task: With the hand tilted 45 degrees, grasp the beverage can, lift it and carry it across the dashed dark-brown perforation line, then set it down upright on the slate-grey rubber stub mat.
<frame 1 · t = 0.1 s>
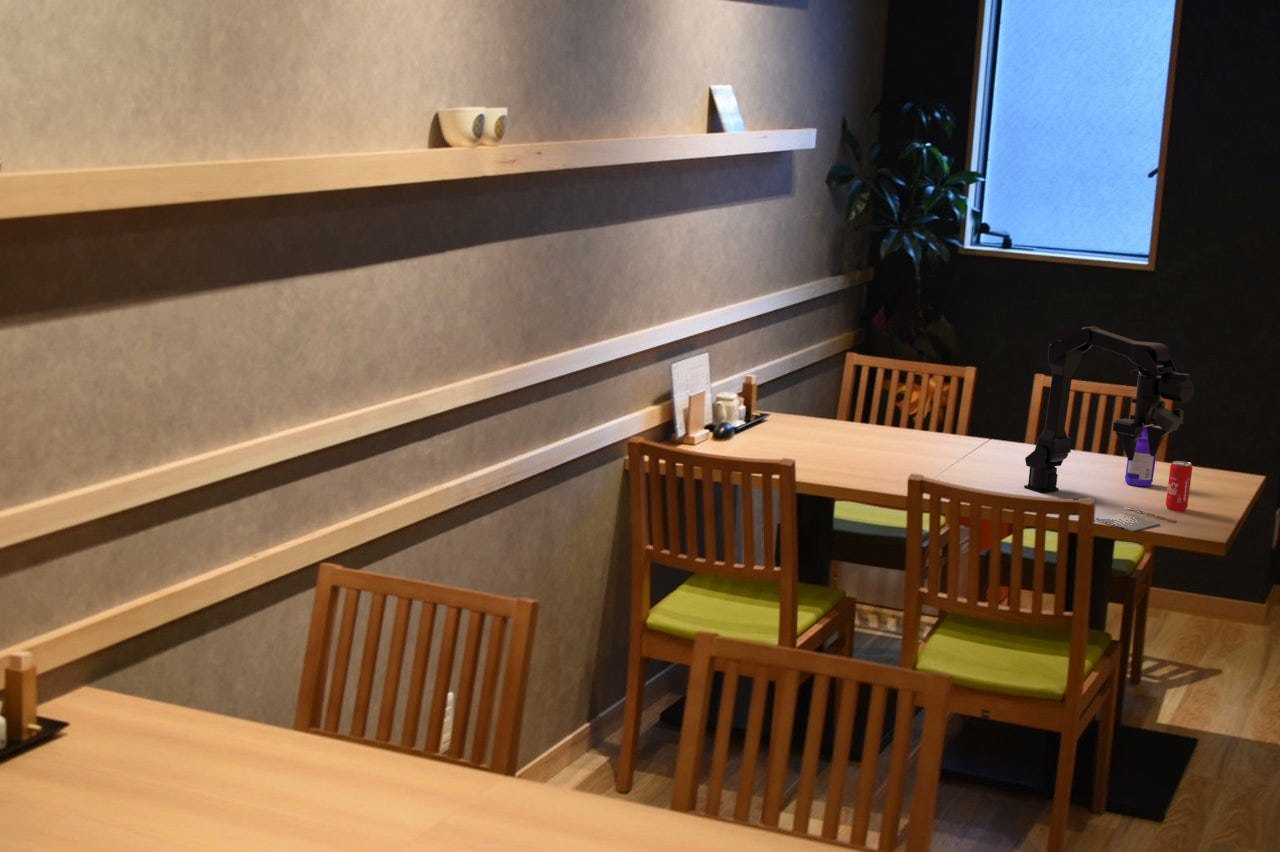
hand: (1141, 458, 372), 15 cm above the table, tool pointing down, fingers open, 9 cm apart
stub mat: (1126, 522, 369), on the table
beverage can: (1175, 510, 383), on the table
perforation line: (1150, 515, 376), on the table
bottle: (1138, 485, 406), on the table
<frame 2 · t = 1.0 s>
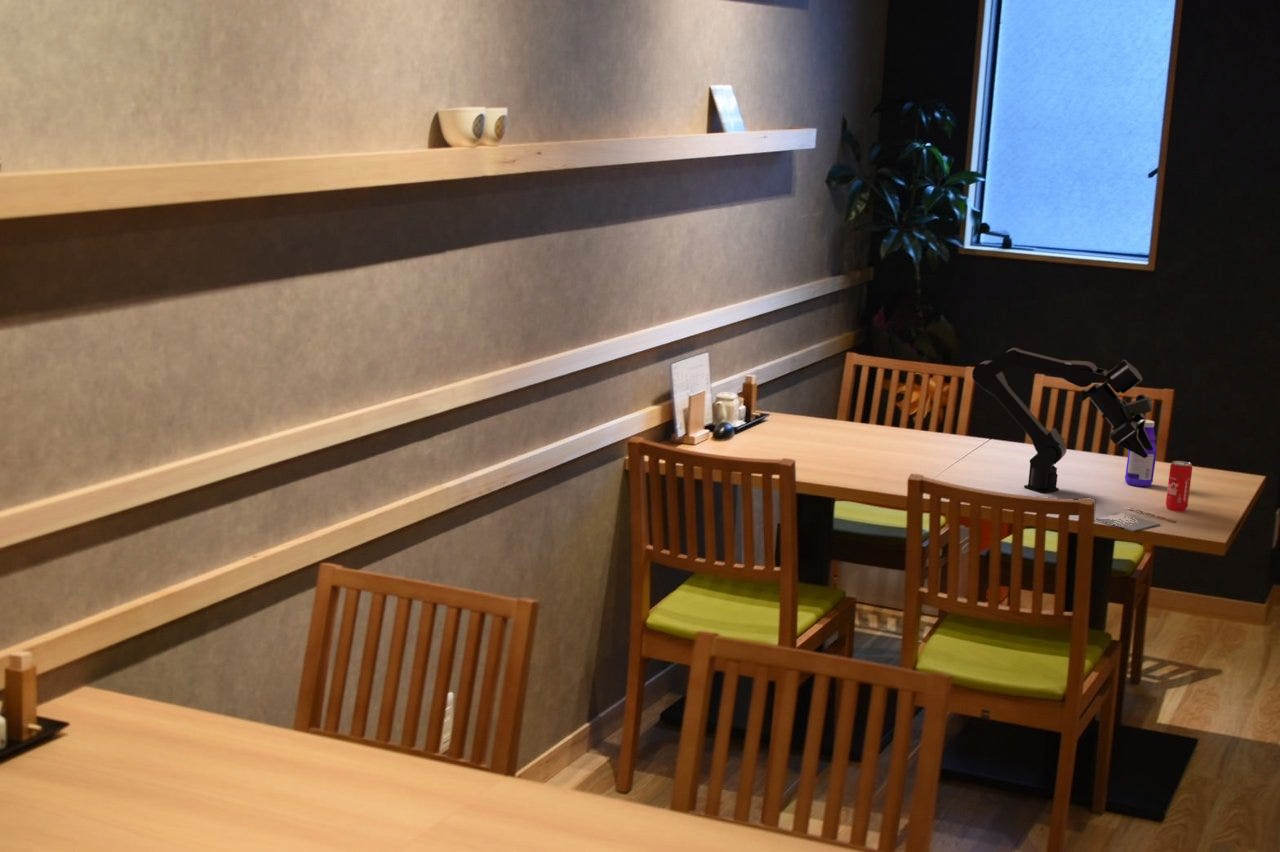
hand: (1149, 453, 383), 13 cm above the table, tool tilted 45°, fingers open, 9 cm apart
nothing on the table moved.
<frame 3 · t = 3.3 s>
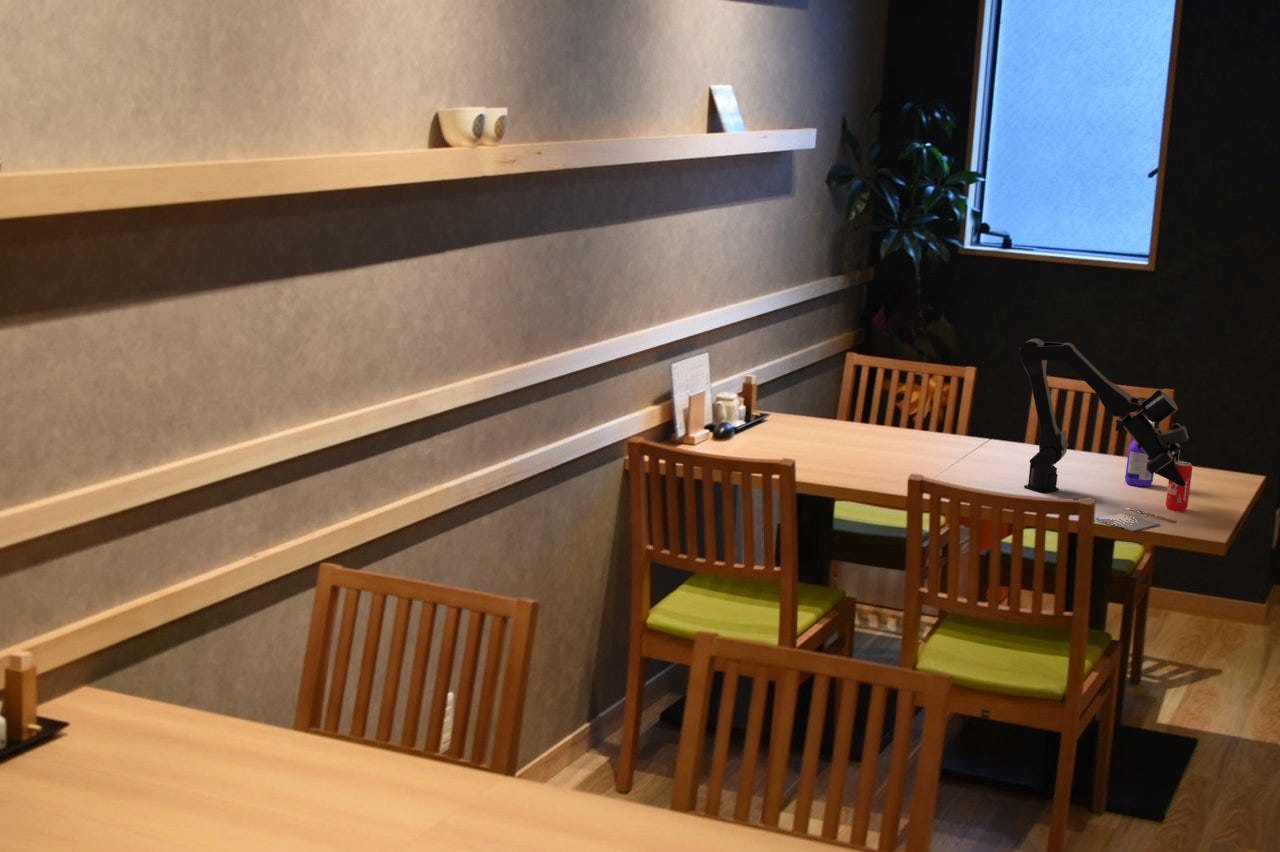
hand: (1185, 483, 381), 7 cm above the table, tool tilted 45°, fingers closed on beverage can, 5 cm apart
beverage can: (1175, 510, 383), on the table, touching gripper
everything else where it was.
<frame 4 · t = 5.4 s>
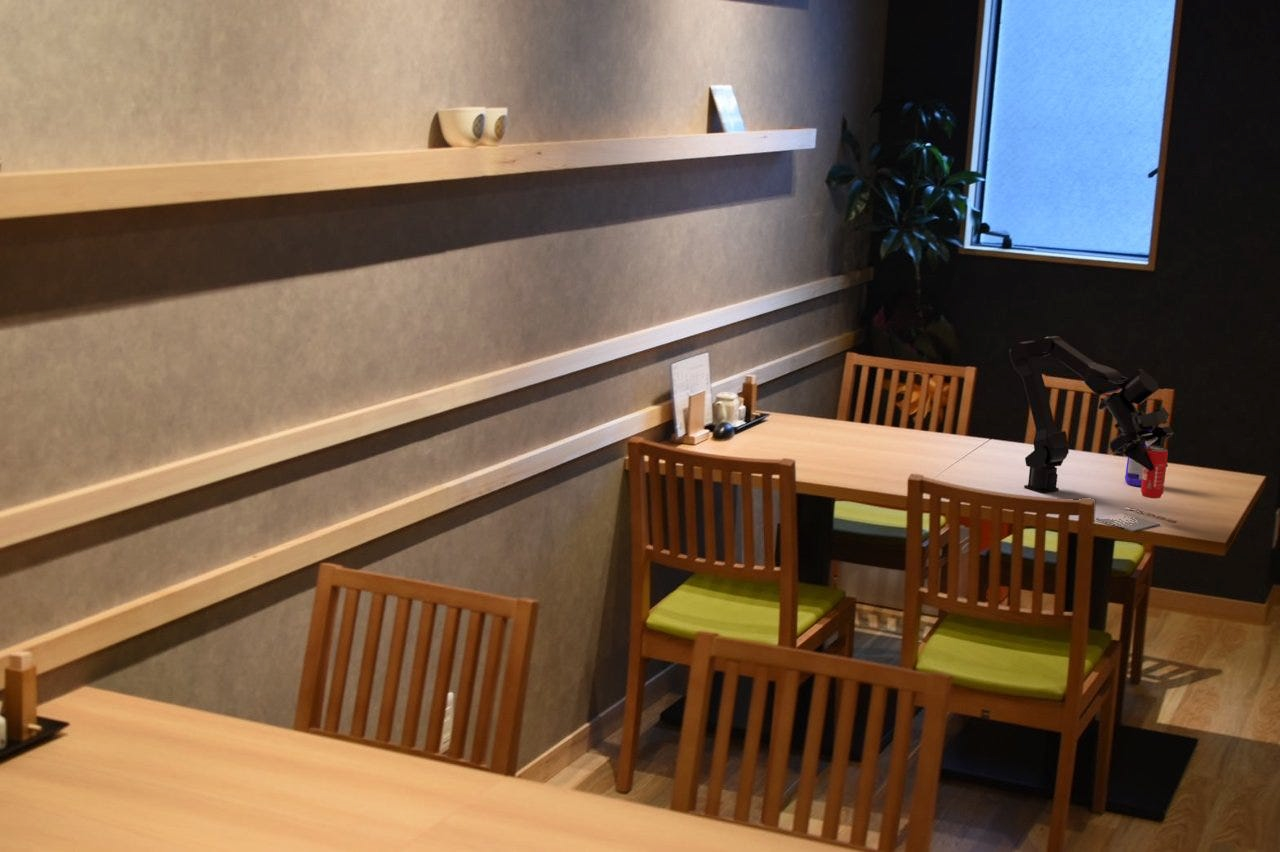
hand: (1159, 468, 368), 13 cm above the table, tool tilted 45°, fingers closed on beverage can, 5 cm apart
beverage can: (1151, 496, 371), point 6 cm above the table, touching gripper
everything else where it was.
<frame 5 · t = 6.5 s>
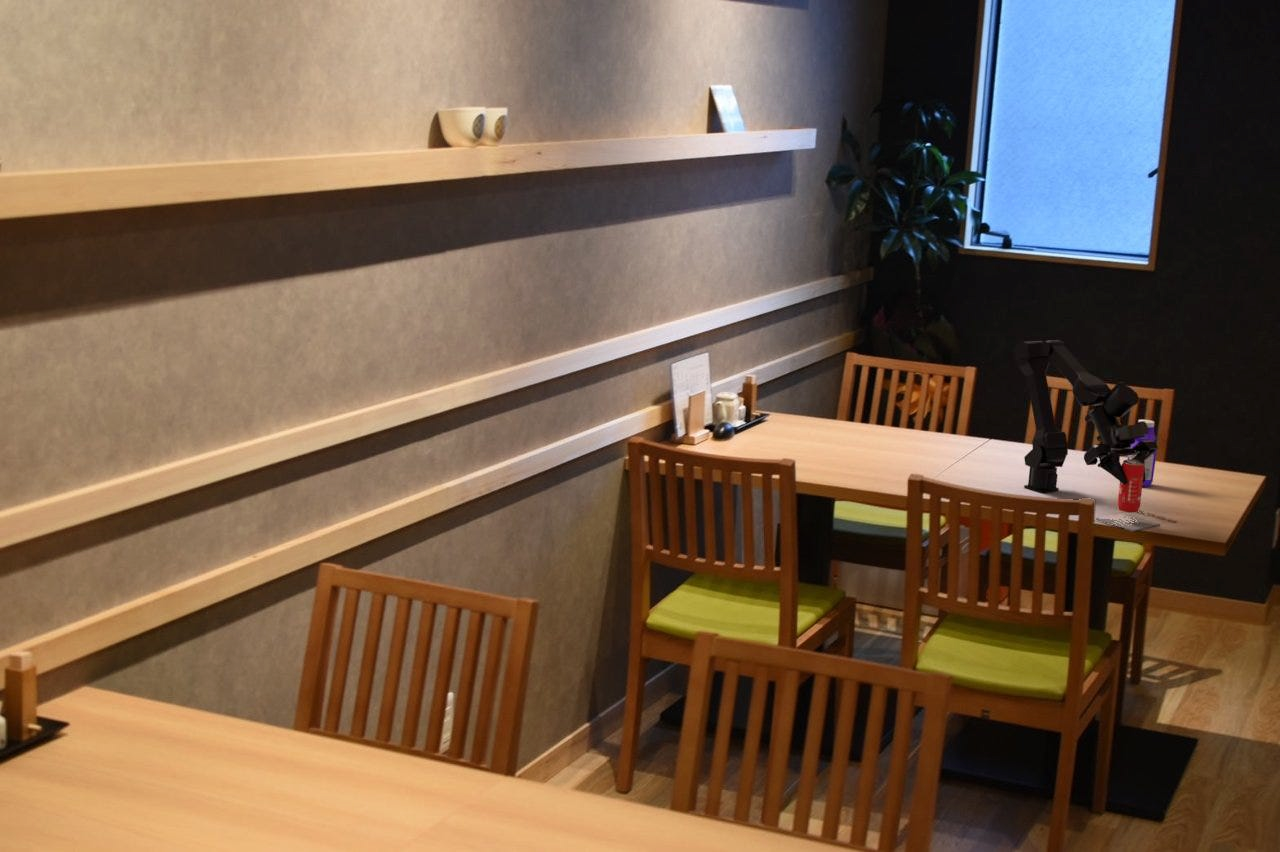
hand: (1135, 482, 366), 10 cm above the table, tool tilted 45°, fingers closed on beverage can, 5 cm apart
beverage can: (1128, 510, 369), point 3 cm above the table, touching gripper
everything else where it was.
when the fingers open (8 cm above the table, at t = 7.3 s): beverage can stays where it is, resting on stub mat.
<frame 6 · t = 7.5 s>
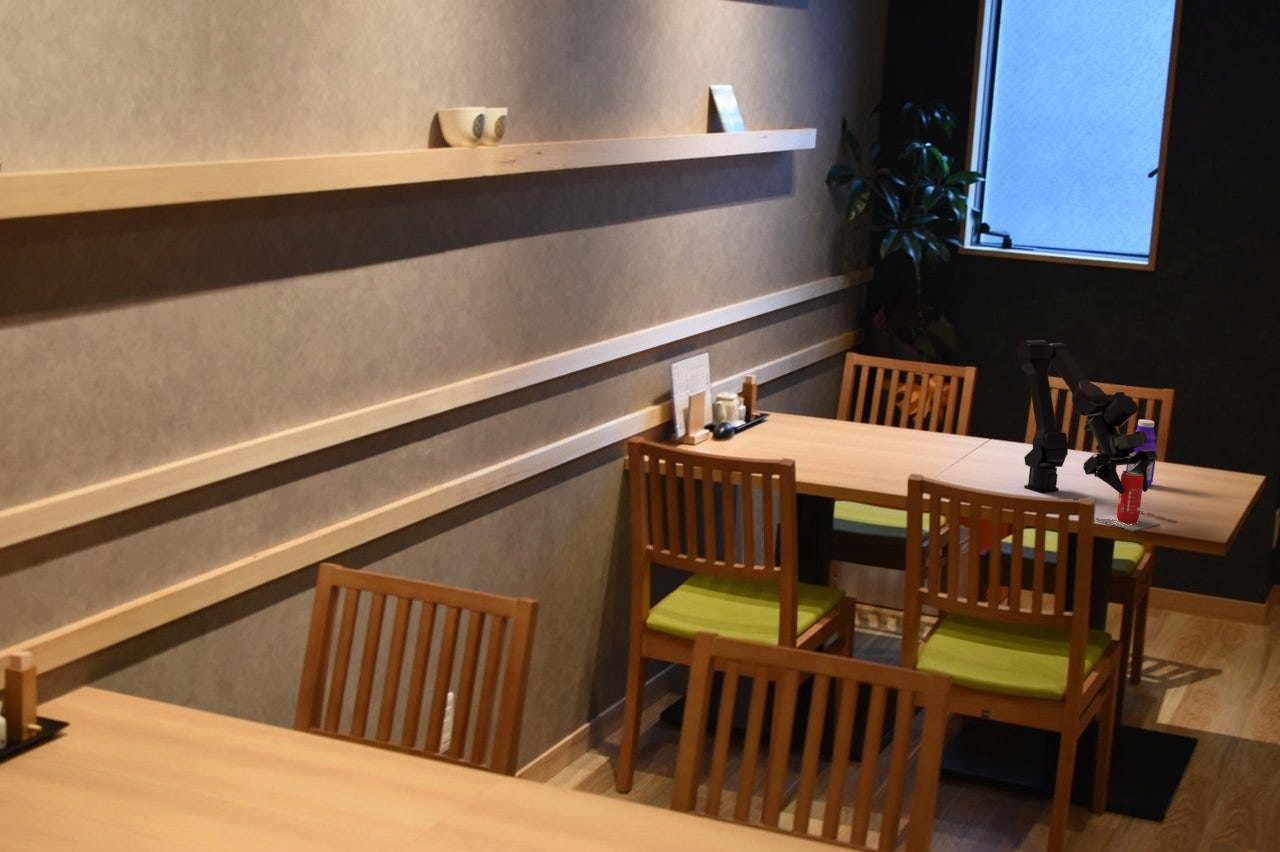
hand: (1134, 492, 366), 8 cm above the table, tool tilted 45°, fingers open, 7 cm apart
beverage can: (1127, 521, 369), resting on stub mat
everything else where it was.
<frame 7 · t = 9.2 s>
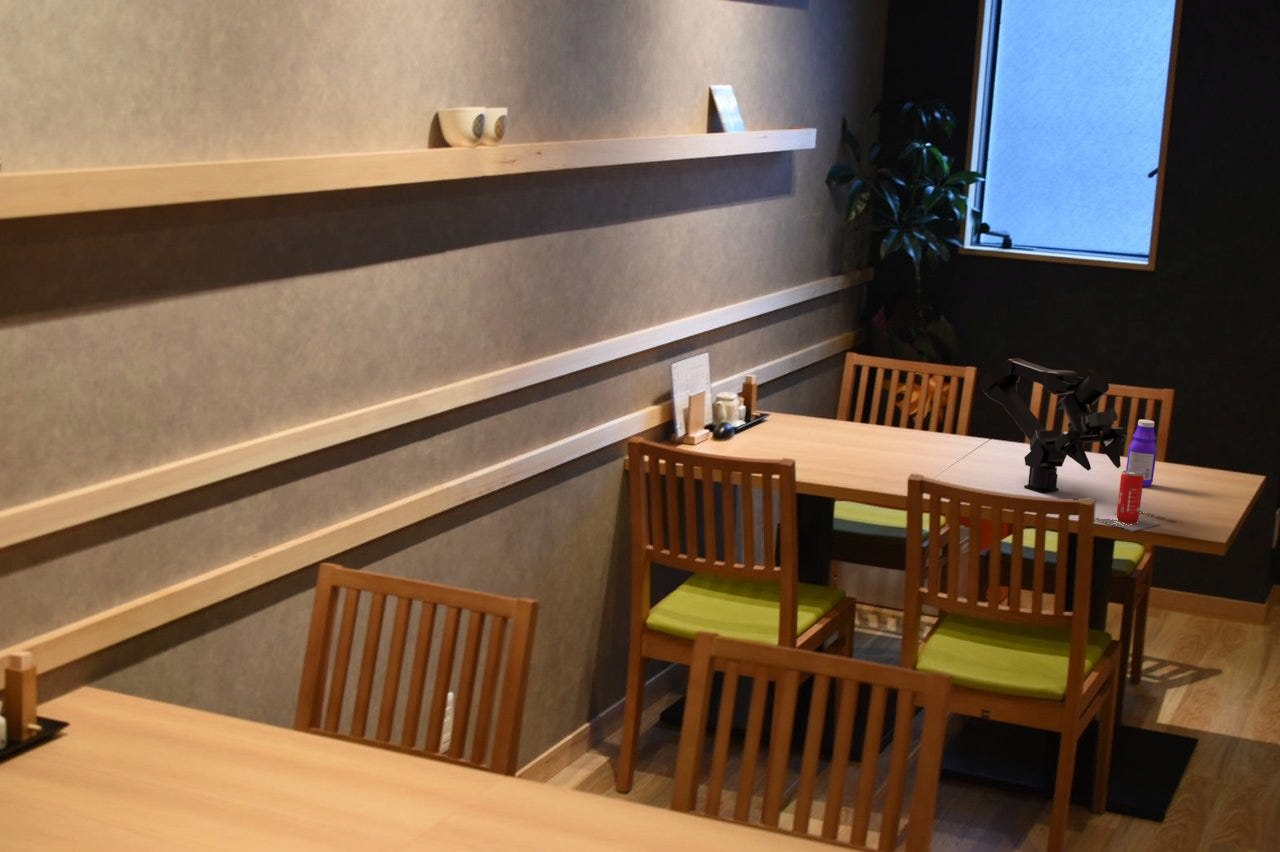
hand: (1104, 468, 375), 11 cm above the table, tool tilted 45°, fingers open, 9 cm apart
nothing on the table moved.
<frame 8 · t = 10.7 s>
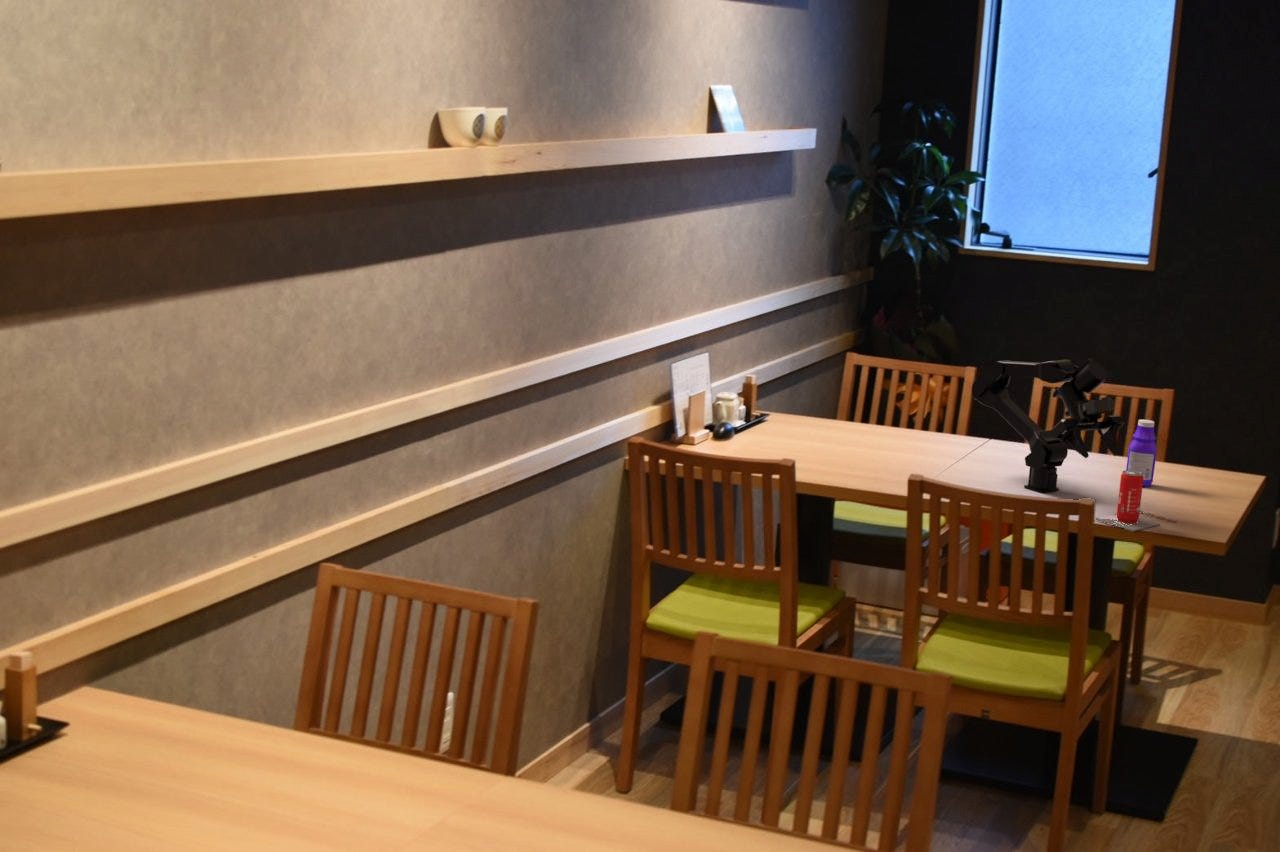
hand: (1101, 456, 377), 14 cm above the table, tool tilted 45°, fingers open, 9 cm apart
nothing on the table moved.
at the end: beverage can inside the target area (0.3 cm from its centre), resting on stub mat; beverage can tilted 0°; the gripper is holding nothing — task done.
